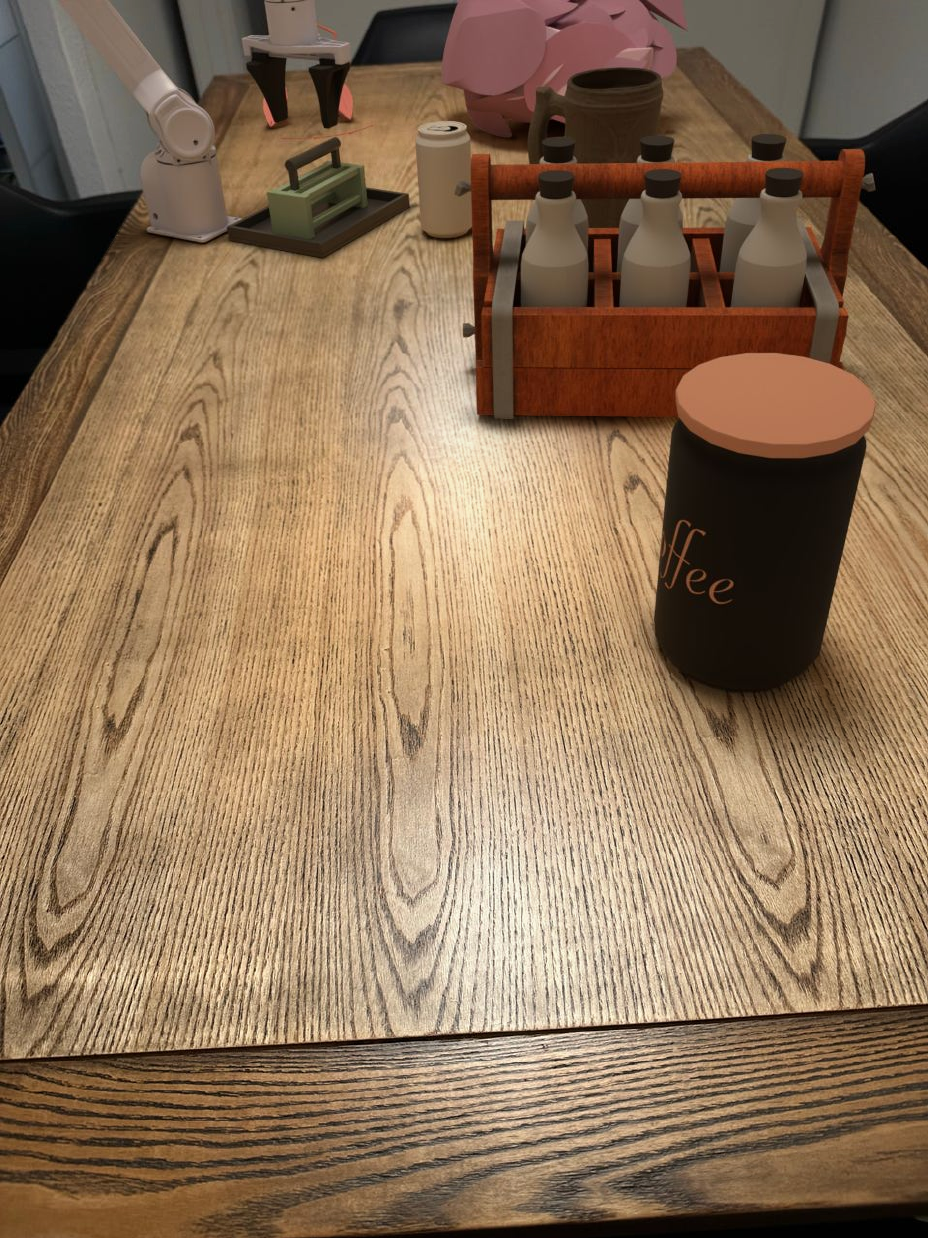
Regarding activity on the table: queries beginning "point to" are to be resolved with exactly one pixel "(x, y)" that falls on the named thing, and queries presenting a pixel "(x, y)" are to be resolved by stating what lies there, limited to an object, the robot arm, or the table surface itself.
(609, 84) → the beer stein
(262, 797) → the table surface
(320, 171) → the green tool caddy
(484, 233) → the milk bottle holder
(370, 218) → the tray
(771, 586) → the coffee jar
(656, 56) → the flower arrangement
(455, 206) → the beverage can
